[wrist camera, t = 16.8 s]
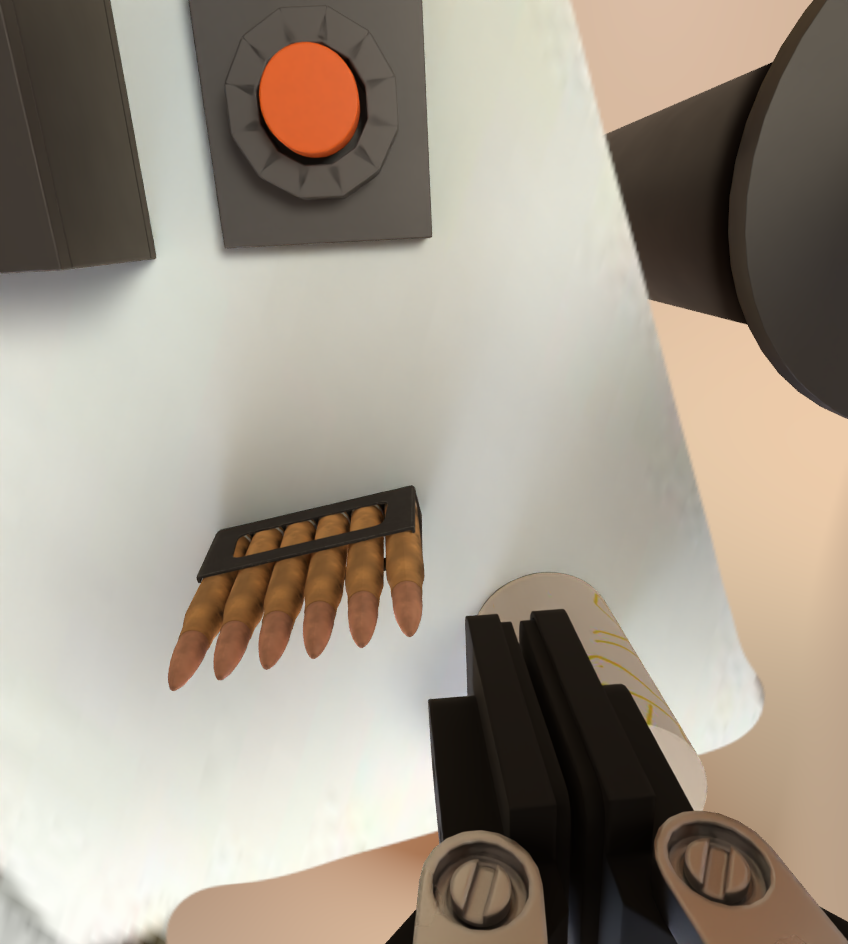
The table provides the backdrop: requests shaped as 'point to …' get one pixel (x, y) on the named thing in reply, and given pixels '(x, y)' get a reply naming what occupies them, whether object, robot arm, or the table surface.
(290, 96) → the button
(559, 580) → the white patterned cylinder
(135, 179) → the cabinet
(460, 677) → the table surface
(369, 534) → the ammunition clip
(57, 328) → the table surface
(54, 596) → the table surface
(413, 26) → the control block
